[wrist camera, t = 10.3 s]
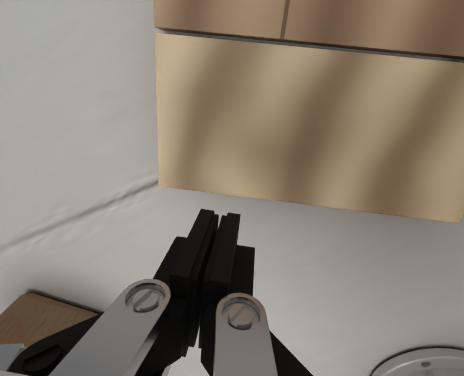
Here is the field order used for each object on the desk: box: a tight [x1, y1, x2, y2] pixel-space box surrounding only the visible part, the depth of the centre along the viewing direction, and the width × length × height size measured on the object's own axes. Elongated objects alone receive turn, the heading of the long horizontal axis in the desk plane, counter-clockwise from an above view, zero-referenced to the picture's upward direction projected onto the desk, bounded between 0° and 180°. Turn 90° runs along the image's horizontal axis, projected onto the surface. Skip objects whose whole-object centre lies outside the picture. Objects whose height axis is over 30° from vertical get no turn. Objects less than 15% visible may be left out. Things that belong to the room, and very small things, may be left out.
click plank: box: [155, 33, 464, 223], centre depth 17 cm, size 22×10×1 cm, turn 85°
